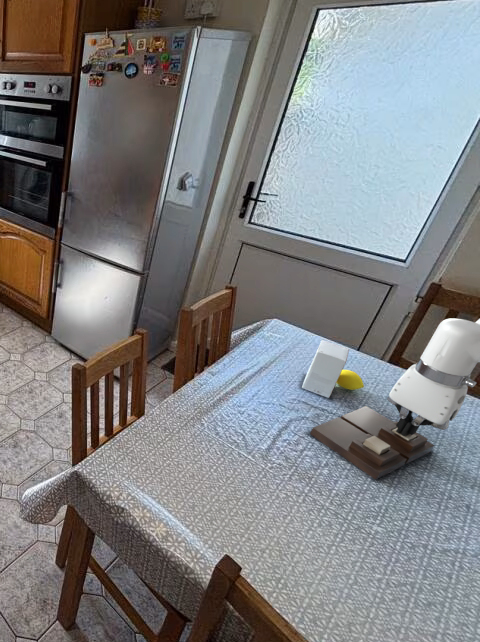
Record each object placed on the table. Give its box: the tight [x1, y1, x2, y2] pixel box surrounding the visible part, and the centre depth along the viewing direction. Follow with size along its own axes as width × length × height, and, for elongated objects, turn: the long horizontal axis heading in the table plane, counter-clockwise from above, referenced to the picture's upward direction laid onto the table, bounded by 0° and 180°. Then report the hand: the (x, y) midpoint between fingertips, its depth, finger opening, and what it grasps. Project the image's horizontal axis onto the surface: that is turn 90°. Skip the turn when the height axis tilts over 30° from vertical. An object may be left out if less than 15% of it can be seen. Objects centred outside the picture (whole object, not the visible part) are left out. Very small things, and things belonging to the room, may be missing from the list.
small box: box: [301, 339, 350, 399], centre depth 117 cm, size 8×6×13 cm
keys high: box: [309, 416, 407, 480], centre depth 99 cm, size 14×10×4 cm
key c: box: [392, 428, 417, 442], centre depth 99 cm, size 3×3×2 cm
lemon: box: [336, 369, 365, 391], centre depth 118 cm, size 7×5×5 cm
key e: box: [363, 436, 390, 455], centre depth 95 cm, size 3×3×2 cm
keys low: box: [340, 405, 435, 465], centre depth 102 cm, size 14×10×4 cm
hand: (403, 432), depth 99 cm, fingers closed
